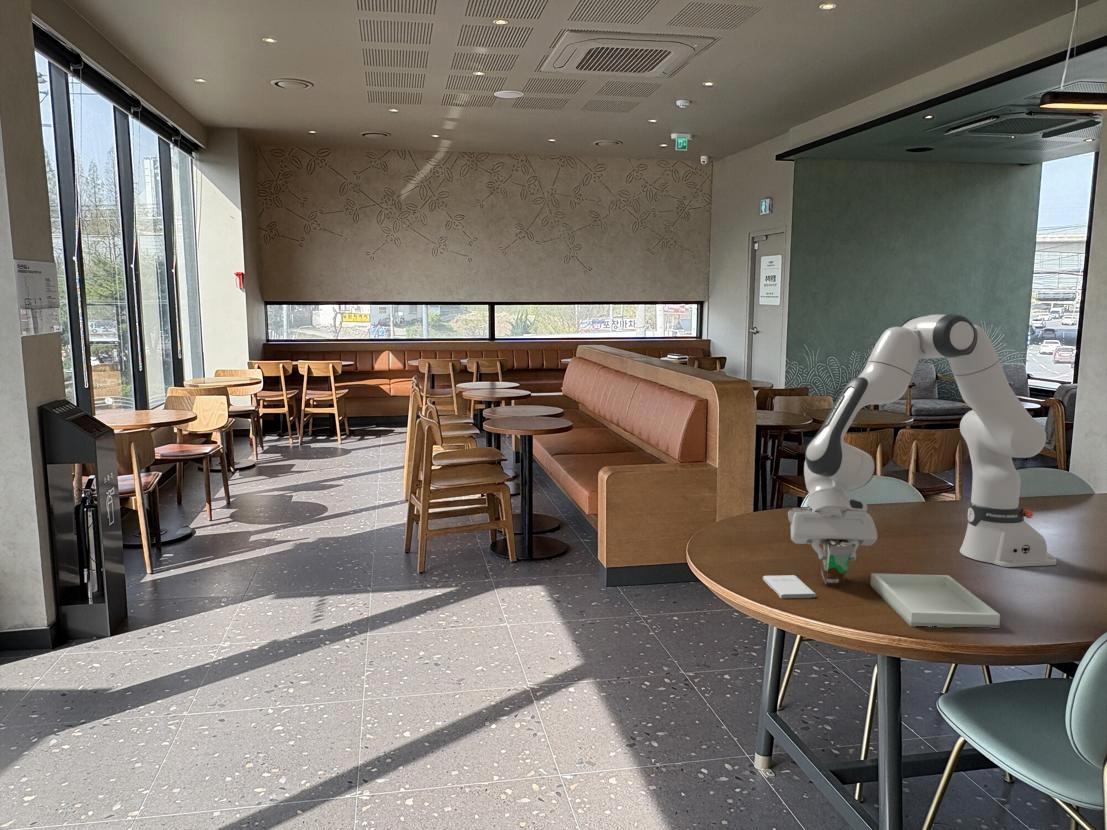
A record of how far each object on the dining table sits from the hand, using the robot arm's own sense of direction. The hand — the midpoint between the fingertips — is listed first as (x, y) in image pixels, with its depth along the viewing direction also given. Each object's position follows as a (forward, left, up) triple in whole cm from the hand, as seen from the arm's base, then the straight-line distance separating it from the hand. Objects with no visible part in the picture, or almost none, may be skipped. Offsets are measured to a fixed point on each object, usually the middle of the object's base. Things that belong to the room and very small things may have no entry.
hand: (837, 559), depth 192 cm
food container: (0, -1, -6) cm, 6 cm away
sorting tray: (-16, +14, -6) cm, 22 cm away
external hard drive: (+13, +6, -6) cm, 15 cm away
